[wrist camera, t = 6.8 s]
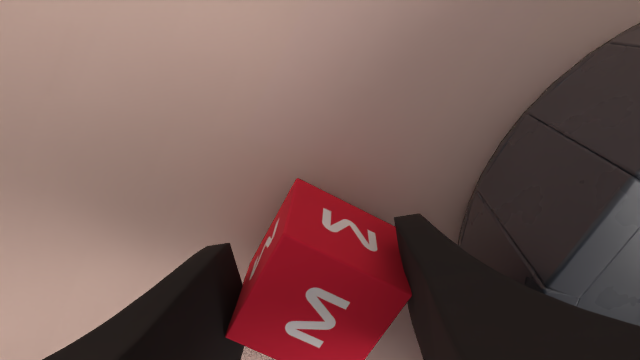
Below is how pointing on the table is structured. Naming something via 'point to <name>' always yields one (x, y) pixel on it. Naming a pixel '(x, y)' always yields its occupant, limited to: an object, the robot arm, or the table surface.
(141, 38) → the table surface
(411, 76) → the table surface
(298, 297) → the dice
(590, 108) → the pot
